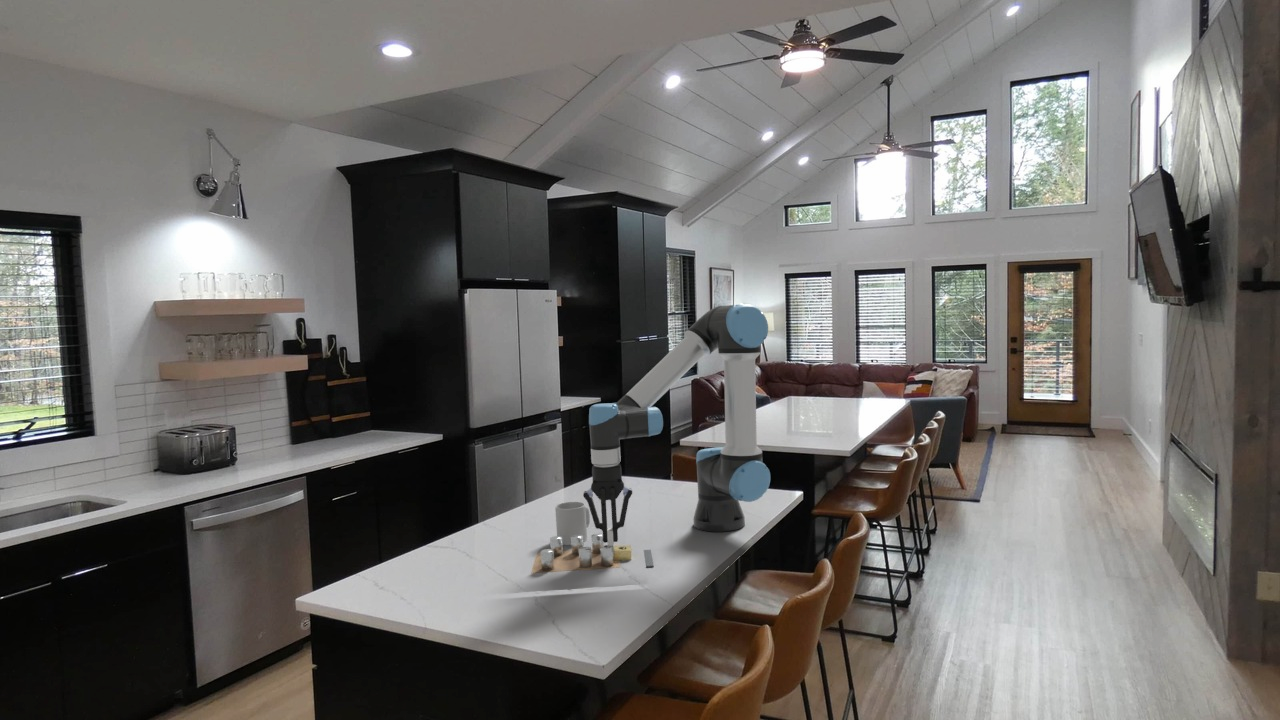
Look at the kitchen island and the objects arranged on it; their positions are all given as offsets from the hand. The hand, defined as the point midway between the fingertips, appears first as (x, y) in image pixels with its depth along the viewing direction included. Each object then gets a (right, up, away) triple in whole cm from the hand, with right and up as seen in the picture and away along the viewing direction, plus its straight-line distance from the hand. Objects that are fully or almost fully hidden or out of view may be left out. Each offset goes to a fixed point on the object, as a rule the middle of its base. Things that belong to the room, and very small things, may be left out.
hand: (611, 554), depth 195 cm
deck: (-9, -3, 0) cm, 9 cm away
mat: (+7, -2, +1) cm, 7 cm away
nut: (+3, -1, 0) cm, 3 cm away
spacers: (-8, -1, 0) cm, 9 cm away
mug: (-11, -2, +19) cm, 22 cm away
